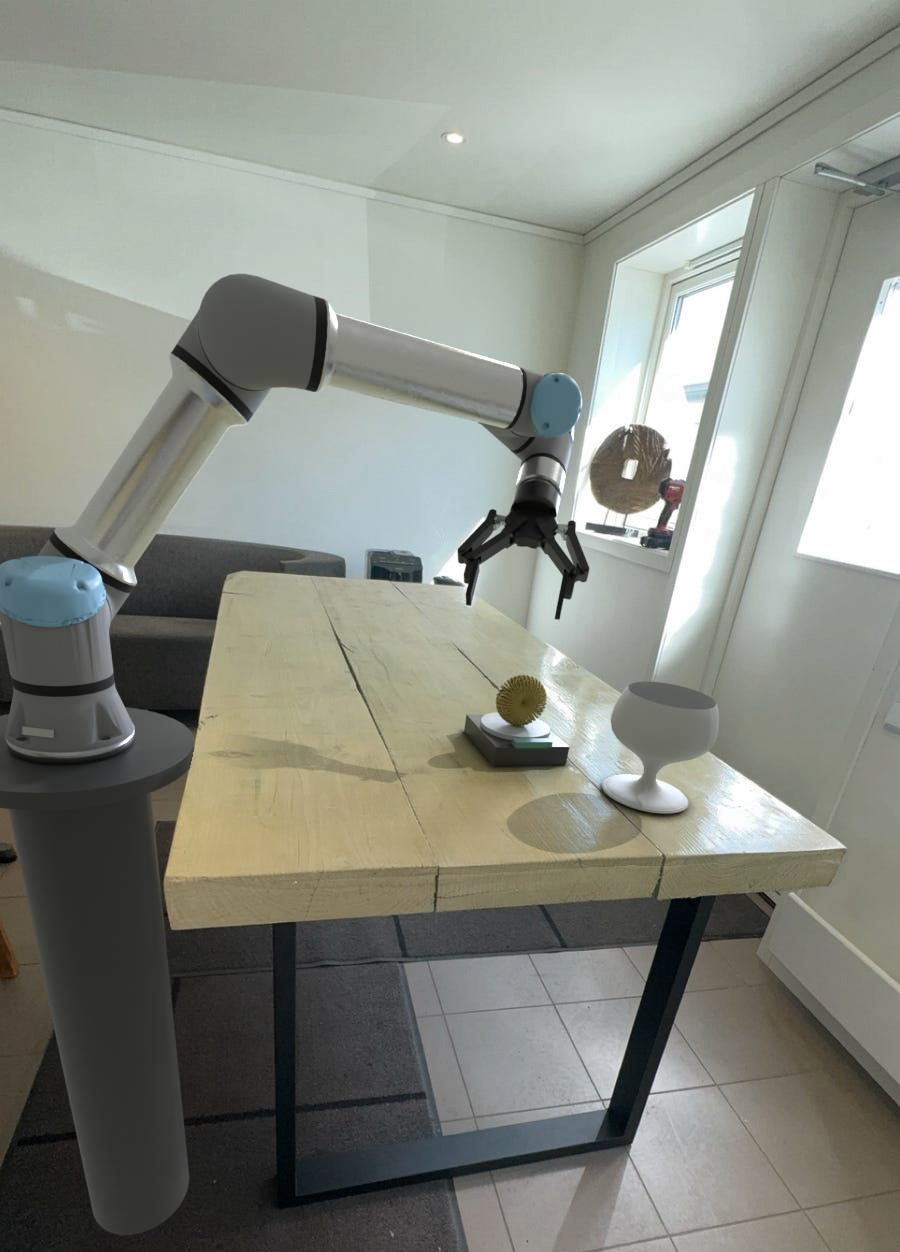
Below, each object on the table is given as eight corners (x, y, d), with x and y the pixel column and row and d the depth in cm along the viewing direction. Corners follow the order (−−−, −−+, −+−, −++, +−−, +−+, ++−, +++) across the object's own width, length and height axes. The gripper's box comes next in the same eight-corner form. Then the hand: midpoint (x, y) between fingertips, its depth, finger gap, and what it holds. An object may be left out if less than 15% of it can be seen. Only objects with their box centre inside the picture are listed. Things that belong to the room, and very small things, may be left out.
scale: (463, 731, 109) (466, 709, 107) (530, 731, 113) (533, 710, 111) (493, 766, 97) (497, 742, 95) (566, 764, 101) (570, 741, 99)
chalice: (715, 808, 93) (748, 707, 86) (649, 827, 85) (680, 717, 78) (639, 769, 103) (664, 675, 96) (574, 783, 95) (596, 682, 88)
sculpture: (496, 728, 101) (504, 678, 97) (489, 719, 104) (496, 670, 100) (545, 730, 102) (554, 680, 99) (536, 721, 106) (545, 672, 102)
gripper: (611, 524, 107) (592, 634, 100) (461, 503, 110) (433, 609, 103) (620, 488, 100) (600, 604, 93) (460, 467, 103) (429, 578, 96)
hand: (512, 607), depth 98 cm, fingers open, 13 cm apart
